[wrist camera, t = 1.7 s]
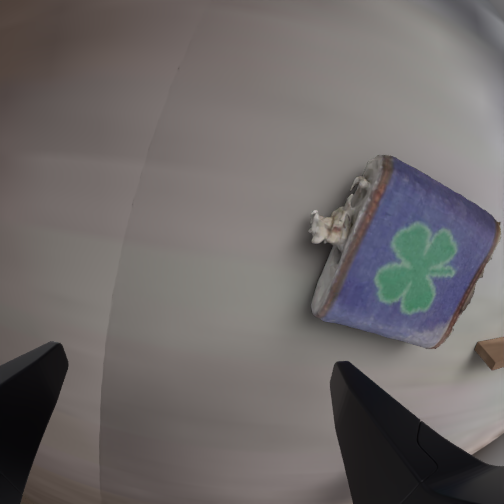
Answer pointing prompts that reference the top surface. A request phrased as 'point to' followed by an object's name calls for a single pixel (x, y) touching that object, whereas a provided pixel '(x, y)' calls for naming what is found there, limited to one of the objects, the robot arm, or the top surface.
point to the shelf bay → (492, 352)
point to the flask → (402, 255)
